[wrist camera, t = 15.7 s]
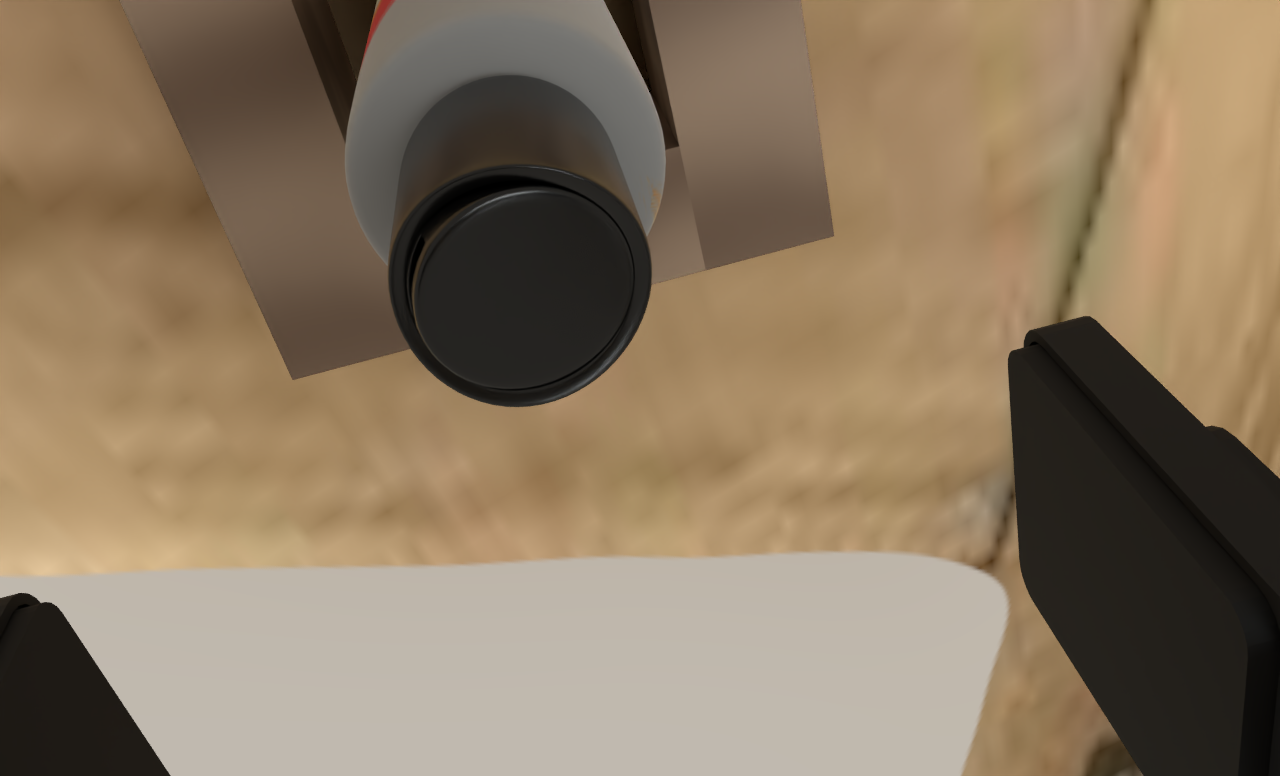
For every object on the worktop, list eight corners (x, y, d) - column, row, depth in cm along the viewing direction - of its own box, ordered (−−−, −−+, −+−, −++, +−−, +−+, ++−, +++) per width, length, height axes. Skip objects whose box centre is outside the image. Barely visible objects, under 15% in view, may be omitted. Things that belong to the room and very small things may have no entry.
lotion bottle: (395, -137, 31) (328, 64, 14) (602, -94, 32) (772, 139, 15) (375, 71, 34) (298, 453, 17) (566, 103, 35) (677, 488, 18)
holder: (790, 174, 37) (834, 236, 33) (310, 301, 37) (292, 379, 33) (696, -417, 29) (738, -437, 24) (73, -253, 28) (7, -244, 24)
